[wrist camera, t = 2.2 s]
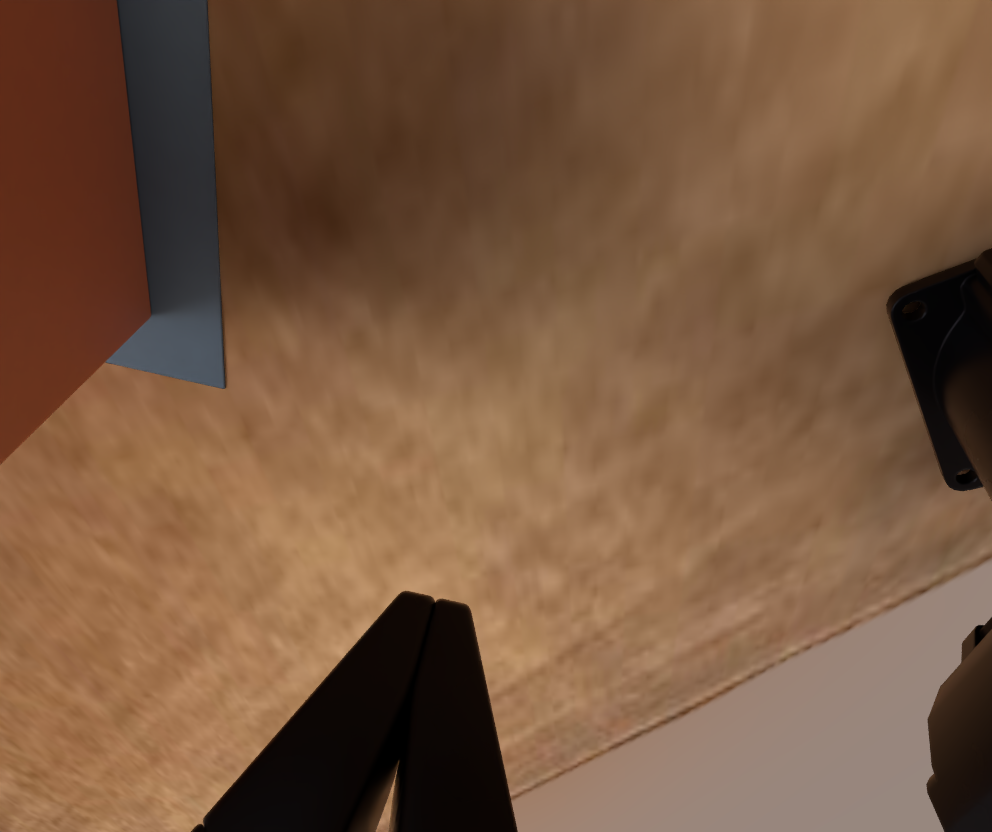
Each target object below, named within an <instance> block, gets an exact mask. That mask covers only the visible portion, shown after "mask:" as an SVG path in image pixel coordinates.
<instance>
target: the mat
mask: <svg viewBox="0 0 992 832" xmlns="http://www.w3.org/2000/svg"><path fill="white" fill-rule="evenodd" d="M117 7H118V16H119V25H120V34H121V43H122V52H123V61H124V71H125V80H126V89H127V98H128V107H129V116H130V125H131V135H132V144H133V153H134V162H135V171H136V180H137V189H138V198H139V208H140V217H141V226H142V235H143V244H144V253H145V262H146V272H147V281H148V290H149V299H150V308H151V317H150V319H149V320H148V321H147V322H145V323H144V324H143V325H142V326H141V327H140V328H139V329H138V330H137V331H136V332H135V333H134V334H133V335H132V336H131V337H130V338H129V339H128V340H127V341H126V342H125V343H124V344H123V345H122V346H121V347H120V348H119V349H118V350H117V351H116V352H115V353H114V354H113V355H112V356H111V357H110V358H109V359H108V360H107V361H106V363H111V364H115V365H119V366H124V367H128V368H133V369H137V370H142V371H146V372H151V373H155V374H160V375H164V376H168V377H173V378H177V379H182V380H186V381H191V382H195V383H200V384H204V385H208V386H213V387H217V388H222V389H225V368H224V347H223V325H222V304H221V282H220V260H219V239H218V217H217V196H216V174H215V153H214V131H213V109H212V88H211V66H210V45H209V23H208V1H207V0H117Z"/></svg>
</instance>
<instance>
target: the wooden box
mask: <svg viewBox="0 0 992 832" xmlns="http://www.w3.org/2000/svg"><path fill="white" fill-rule="evenodd" d="M150 317H151V308H150V299H149V290H148V281H147V272H146V262H145V253H144V244H143V235H142V226H141V217H140V208H139V198H138V189H137V180H136V171H135V162H134V153H133V144H132V135H131V125H130V116H129V107H128V98H127V89H126V80H125V71H124V61H123V52H122V43H121V34H120V25H119V16H118V7H117V0H0V464H1V463H2V462H3V461H4V460H5V459H6V458H7V457H9V456H10V455H11V454H12V453H13V452H14V451H15V450H16V449H17V448H18V447H19V446H20V445H21V444H22V443H23V442H24V441H25V440H26V439H27V438H28V437H29V436H30V435H31V434H32V433H33V432H34V431H35V430H36V429H37V428H38V427H39V426H40V425H41V424H42V423H43V422H44V421H45V420H46V419H47V418H48V417H49V416H50V415H51V414H52V413H53V412H55V411H56V410H57V409H58V408H59V407H60V406H61V405H62V404H63V403H64V402H65V401H66V400H67V399H68V398H69V397H70V396H71V395H72V394H73V393H74V392H75V391H76V390H77V389H78V388H79V387H80V386H81V385H82V384H83V383H84V382H85V381H86V380H87V379H88V378H89V377H90V376H91V375H92V374H93V373H94V372H95V371H96V370H97V369H98V368H99V367H101V366H102V365H103V364H104V363H105V362H106V361H107V360H108V359H109V358H110V357H111V356H112V355H113V354H114V353H115V352H116V351H117V350H118V349H119V348H120V347H121V346H122V345H123V344H124V343H125V342H126V341H127V340H128V339H129V338H130V337H131V336H132V335H133V334H134V333H135V332H136V331H137V330H138V329H139V328H140V327H141V326H142V325H143V324H144V323H145V322H147V321H148V320H149V319H150Z"/></svg>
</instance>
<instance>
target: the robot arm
mask: <svg viewBox="0 0 992 832" xmlns="http://www.w3.org/2000/svg"><path fill="white" fill-rule="evenodd" d="M916 301H918V302H920V305H919V307H918V308H917V309H916V310H914V311H913V312H909V313H904V312H902V310H903V309H904V307H905V306H906V305H907V304H909V303H911V302H916ZM886 307H887V314H888V316H889V319H890V322H891V325H892V328H893V331H894V334H895V337H896V340H897V343H898V346H899V349H900V352H901V355H902V358H903V361H904V364H905V367H906V370H907V373H908V376H909V379H910V382H911V385H912V388H913V391H914V394H915V397H916V400H917V403H918V406H919V409H920V412H921V415H922V418H923V421H924V424H925V427H926V430H927V432H928V435H929V438H930V441H931V444H932V447H933V450H934V453H935V456H936V459H937V462H938V465H939V468H940V471H941V474H942V476H943V478H944V480H945V482H946V483H947V485H948V486H949V487H950V488H952V489H954V490H958V491H967V490H972V489H976V488H979V487H983V486H984V488H985V490H986V491H987V493H988V495H989V497H990V499H991V500H992V248H991V249H989V250H986V251H984V252H983V253H982V254H981V255H980V256H979V257H978V258H977V259H974V260H971V261H969V262H966V263H964V264H961V265H958V266H956V267H953V268H950V269H948V270H945V271H942V272H940V273H937V274H934V275H932V276H929V277H926V278H924V279H921V280H918V281H916V282H913V283H911V284H908V285H905V286H903V287H901V288H899V289H897V290H896V291H895V292H894V293H893V294H892V295H891V296H890V297H889V299H888V302H887V304H886ZM968 469H970V470H969V471H968V472H967V473H965V474H960V475H957V474H958V473H959V472H961V471H963V470H968ZM928 729H929V741H930V752H931V762H932V768H933V771H934V774H933V775H932V776H931V777H930V778H929V780H928V782H927V793H928V795H929V797H930V800H931V802H932V804H933V806H934V809H935V811H936V813H937V816H938V817H939V820H940V822H941V825H942V827H943V829H944V832H992V618H991V619H990V620H989V621H988V622H987V623H986V624H985V625H978V626H976V627H975V628H974V630H973V631H972V632H971V633H970V634H969V635H968V636H967V638H966V639H965V640H964V641H963V643H962V662H961V664H960V665H959V666H958V667H957V669H956V670H955V671H954V672H953V673H952V674H951V675H950V676H949V678H948V679H947V680H946V681H945V682H944V683H943V684H942V685H941V686H940V689H939V691H938V694H937V697H936V699H935V702H934V705H933V707H932V710H931V712H930V715H929V717H928ZM397 767H398V769H397ZM396 771H397V774H396ZM395 774H396V780H395V786H394V793H393V800H392V808H391V817H390V825H389V832H518V831H517V827H516V821H515V817H514V812H513V807H512V803H511V798H510V793H509V788H508V784H507V779H506V774H505V769H504V765H503V760H502V755H501V751H500V746H499V741H498V736H497V732H496V727H495V722H494V717H493V713H492V708H491V703H490V699H489V694H488V689H487V684H486V680H485V675H484V670H483V665H482V661H481V656H480V651H479V646H478V642H477V637H476V632H475V628H474V623H473V618H472V613H471V610H470V608H469V606H468V605H466V604H464V603H459V602H455V601H450V600H446V599H439V600H437V601H436V602H435V600H434V599H433V598H432V597H431V596H428V595H424V594H419V593H415V592H410V591H403V592H401V593H400V594H399V595H398V596H397V597H396V598H395V599H394V600H393V601H392V603H391V604H390V605H389V606H388V607H387V608H386V609H385V611H384V612H383V613H382V614H381V615H380V616H379V617H378V619H377V620H376V621H375V622H374V623H373V624H372V625H371V627H370V628H369V629H368V630H367V631H366V632H365V633H364V635H363V636H362V637H361V638H360V639H359V640H358V641H357V643H356V644H355V645H354V646H353V647H352V648H351V650H350V651H349V652H348V653H347V654H346V655H345V656H344V658H343V659H342V660H341V661H340V662H339V663H338V664H337V666H336V667H335V668H334V669H333V670H332V671H331V672H330V674H329V675H328V676H327V677H326V678H325V679H324V680H323V682H322V683H321V684H320V685H319V686H318V687H317V688H316V690H315V691H314V692H313V693H312V694H311V695H310V696H309V698H308V699H307V700H306V701H305V702H304V703H303V705H302V706H301V707H300V708H299V709H298V710H297V711H296V713H295V714H294V715H293V716H292V717H291V718H290V719H289V721H288V722H287V723H286V724H285V725H284V726H283V727H282V729H281V730H280V731H279V732H278V733H277V734H276V735H275V737H274V738H273V739H272V740H271V741H270V742H269V743H268V745H267V746H266V747H265V748H264V749H263V750H262V751H261V753H260V754H259V755H258V756H257V757H256V758H255V760H254V761H253V762H252V763H251V764H250V765H249V766H248V768H247V769H246V770H245V771H244V772H243V773H242V774H241V776H240V777H239V778H238V779H237V780H236V781H235V782H234V784H233V785H232V786H231V787H230V788H229V789H228V790H227V792H226V793H225V794H224V795H223V796H222V797H221V798H220V800H219V801H218V802H217V803H216V804H215V805H214V806H213V808H212V809H211V810H210V811H209V812H208V813H207V815H206V816H205V817H204V819H203V824H204V826H203V825H202V824H198V825H197V826H196V827H195V828H194V829H193V830H192V831H191V832H375V831H376V829H377V826H378V823H379V821H380V818H381V815H382V812H383V810H384V807H385V804H386V802H387V799H388V796H389V793H390V790H391V787H392V784H393V781H394V778H395Z"/></svg>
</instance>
